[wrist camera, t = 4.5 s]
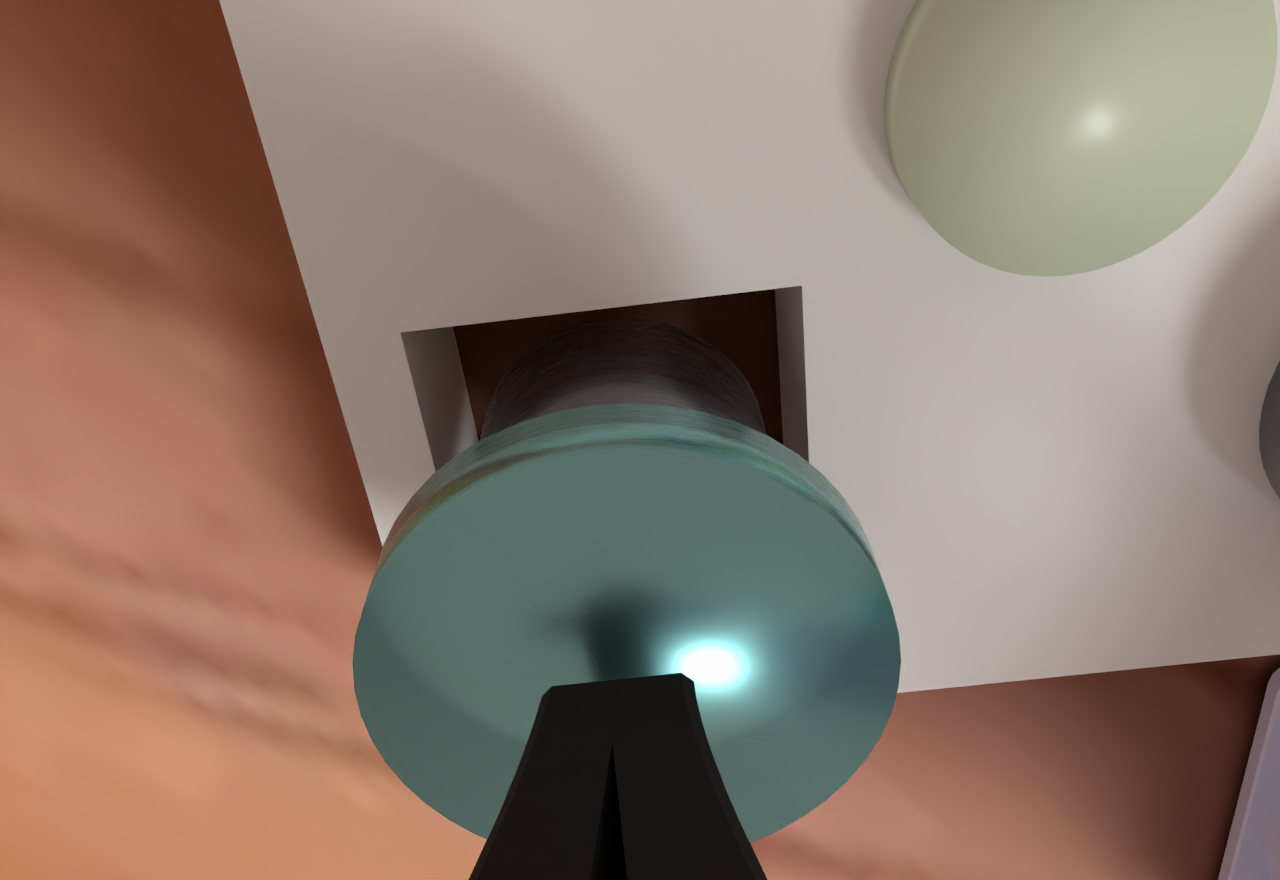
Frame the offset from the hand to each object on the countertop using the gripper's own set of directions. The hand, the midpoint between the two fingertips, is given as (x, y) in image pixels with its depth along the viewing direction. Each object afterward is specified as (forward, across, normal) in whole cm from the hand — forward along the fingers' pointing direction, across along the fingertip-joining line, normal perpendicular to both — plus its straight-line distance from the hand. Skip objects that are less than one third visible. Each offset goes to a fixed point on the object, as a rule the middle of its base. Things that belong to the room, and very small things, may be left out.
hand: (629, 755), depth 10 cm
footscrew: (+6, 0, 0) cm, 6 cm away
